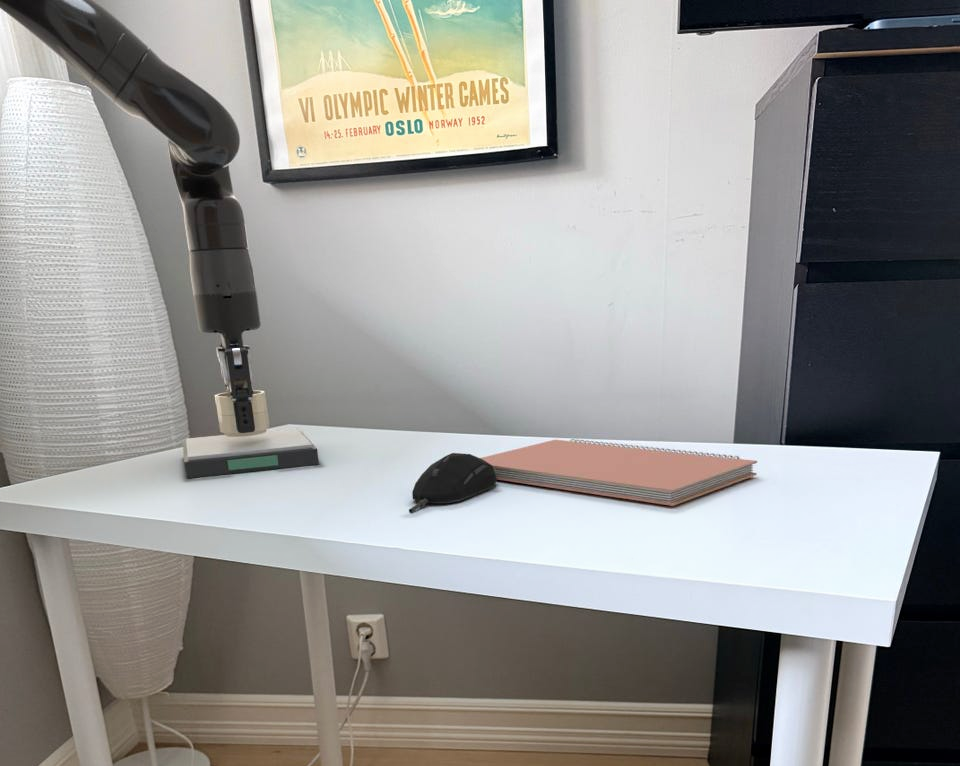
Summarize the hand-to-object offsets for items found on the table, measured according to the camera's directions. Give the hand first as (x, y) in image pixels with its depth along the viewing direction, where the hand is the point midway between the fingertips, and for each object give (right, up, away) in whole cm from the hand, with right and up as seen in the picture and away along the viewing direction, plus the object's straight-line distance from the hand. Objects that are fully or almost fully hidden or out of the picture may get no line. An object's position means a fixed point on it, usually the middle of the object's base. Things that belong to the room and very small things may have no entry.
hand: (244, 428), depth 120 cm
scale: (0, -4, +2) cm, 4 cm away
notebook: (+44, -10, -18) cm, 49 cm away
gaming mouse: (+27, -13, -23) cm, 38 cm away
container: (0, -1, 0) cm, 1 cm away
